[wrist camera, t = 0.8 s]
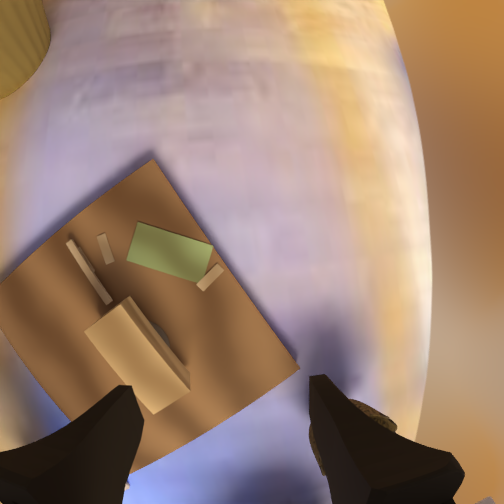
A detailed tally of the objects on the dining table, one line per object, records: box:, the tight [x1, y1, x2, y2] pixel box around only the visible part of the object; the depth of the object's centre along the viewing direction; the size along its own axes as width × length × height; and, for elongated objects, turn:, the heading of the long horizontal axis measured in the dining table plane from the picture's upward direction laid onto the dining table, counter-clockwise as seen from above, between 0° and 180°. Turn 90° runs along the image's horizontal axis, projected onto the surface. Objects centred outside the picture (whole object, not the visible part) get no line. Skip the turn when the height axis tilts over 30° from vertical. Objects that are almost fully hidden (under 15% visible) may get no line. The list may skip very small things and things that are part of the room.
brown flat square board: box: [0, 159, 300, 474], centre depth 25 cm, size 21×22×1 cm
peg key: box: [66, 239, 190, 415], centre depth 23 cm, size 4×14×4 cm, turn 35°
